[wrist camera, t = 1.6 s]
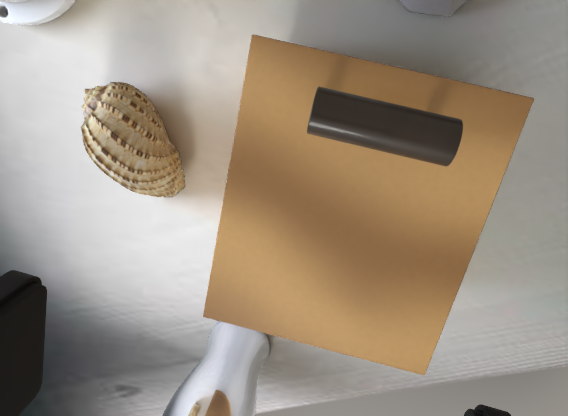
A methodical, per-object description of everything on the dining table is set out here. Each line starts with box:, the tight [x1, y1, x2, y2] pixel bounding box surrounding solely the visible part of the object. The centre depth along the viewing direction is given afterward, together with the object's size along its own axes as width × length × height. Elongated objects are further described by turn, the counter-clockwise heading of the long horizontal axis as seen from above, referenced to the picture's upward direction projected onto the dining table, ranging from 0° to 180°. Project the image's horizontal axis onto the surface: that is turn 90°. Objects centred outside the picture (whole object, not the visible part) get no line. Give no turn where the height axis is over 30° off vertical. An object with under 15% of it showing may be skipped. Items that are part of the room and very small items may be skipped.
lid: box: [203, 35, 534, 375], centre depth 23 cm, size 17×14×6 cm
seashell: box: [81, 82, 185, 197], centre depth 37 cm, size 8×6×10 cm
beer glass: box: [162, 321, 270, 416], centre depth 38 cm, size 7×7×15 cm
